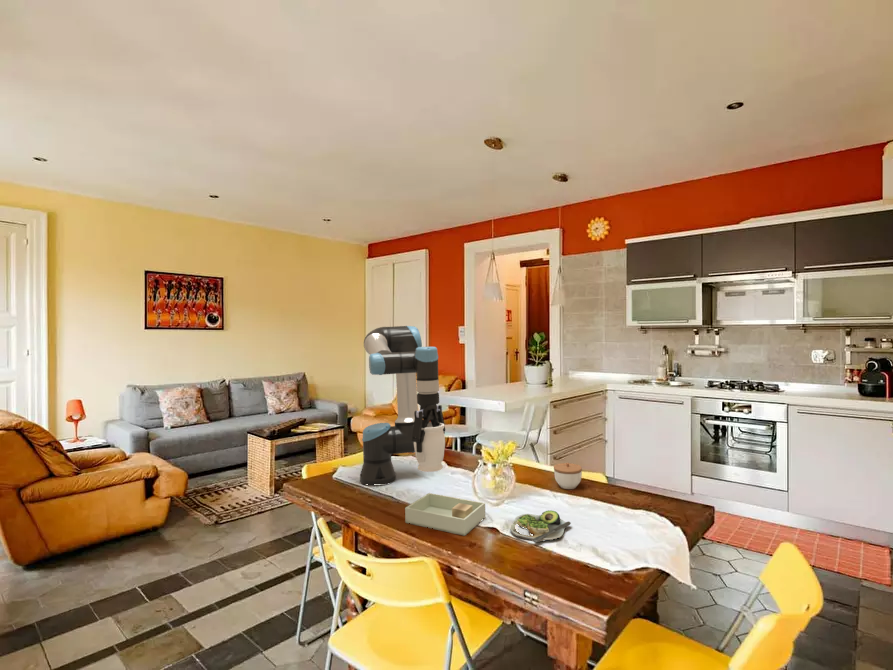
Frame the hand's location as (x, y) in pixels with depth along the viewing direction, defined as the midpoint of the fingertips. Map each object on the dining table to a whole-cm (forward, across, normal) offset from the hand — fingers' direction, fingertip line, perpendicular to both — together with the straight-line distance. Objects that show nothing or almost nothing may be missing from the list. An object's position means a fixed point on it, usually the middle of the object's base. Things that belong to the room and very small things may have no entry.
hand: (430, 457), depth 166 cm
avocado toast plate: (+21, -8, +36) cm, 42 cm away
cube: (+20, 0, +12) cm, 23 cm away
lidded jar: (+21, -49, +33) cm, 63 cm away
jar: (+4, 0, 0) cm, 4 cm away
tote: (+21, 0, +5) cm, 21 cm away
